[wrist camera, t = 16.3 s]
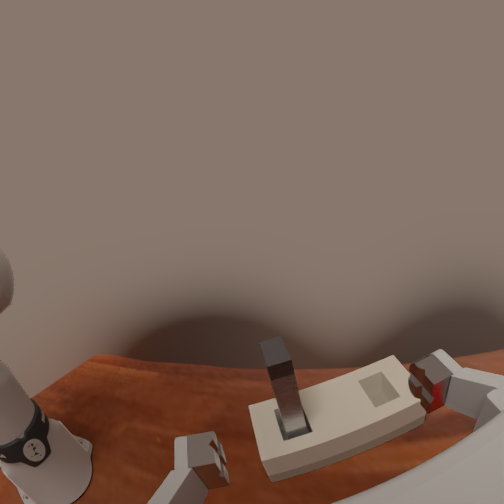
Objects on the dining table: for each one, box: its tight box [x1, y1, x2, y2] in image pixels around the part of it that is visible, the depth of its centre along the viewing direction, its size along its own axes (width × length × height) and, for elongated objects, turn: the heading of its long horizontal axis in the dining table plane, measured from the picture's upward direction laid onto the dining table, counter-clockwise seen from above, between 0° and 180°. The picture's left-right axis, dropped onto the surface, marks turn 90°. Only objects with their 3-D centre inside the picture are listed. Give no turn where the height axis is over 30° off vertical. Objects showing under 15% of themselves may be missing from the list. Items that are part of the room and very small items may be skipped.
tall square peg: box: [259, 336, 308, 440], centre depth 35 cm, size 4×2×16 cm, turn 10°
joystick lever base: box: [249, 355, 426, 483], centre depth 38 cm, size 22×10×6 cm, turn 100°
